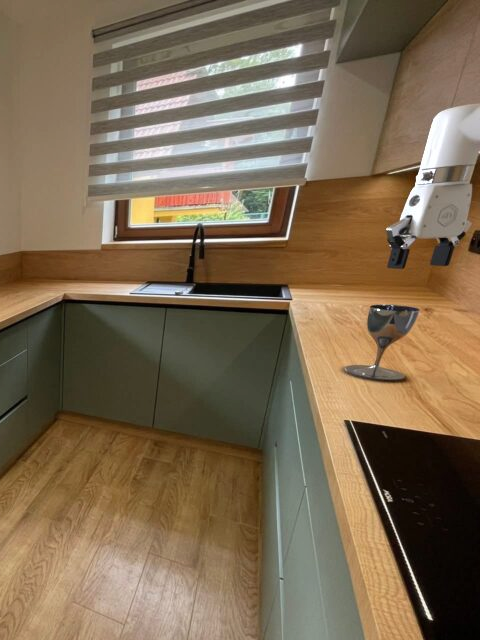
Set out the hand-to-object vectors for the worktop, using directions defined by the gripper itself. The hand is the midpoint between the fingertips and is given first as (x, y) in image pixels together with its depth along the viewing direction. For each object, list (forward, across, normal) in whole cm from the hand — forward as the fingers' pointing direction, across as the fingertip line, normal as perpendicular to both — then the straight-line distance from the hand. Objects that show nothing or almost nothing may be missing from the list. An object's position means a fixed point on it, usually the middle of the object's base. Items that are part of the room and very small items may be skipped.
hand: (417, 266), depth 90 cm
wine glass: (+24, -2, +1) cm, 24 cm away
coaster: (+24, -2, +1) cm, 24 cm away
